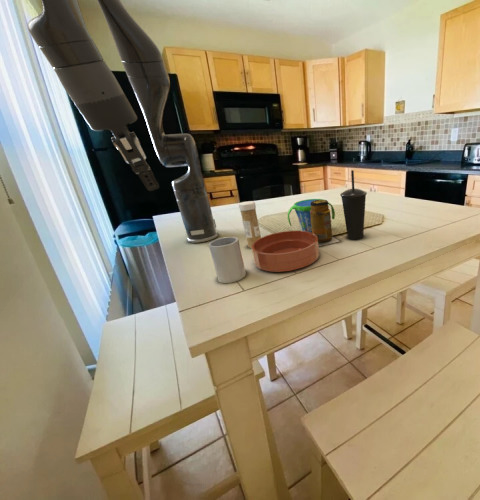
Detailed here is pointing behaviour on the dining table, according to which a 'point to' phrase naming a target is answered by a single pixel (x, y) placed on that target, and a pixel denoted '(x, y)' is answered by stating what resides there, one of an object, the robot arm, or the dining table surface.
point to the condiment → (321, 222)
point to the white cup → (227, 259)
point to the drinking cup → (354, 211)
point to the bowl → (285, 250)
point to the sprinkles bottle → (250, 221)
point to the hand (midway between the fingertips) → (151, 182)
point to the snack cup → (305, 213)
